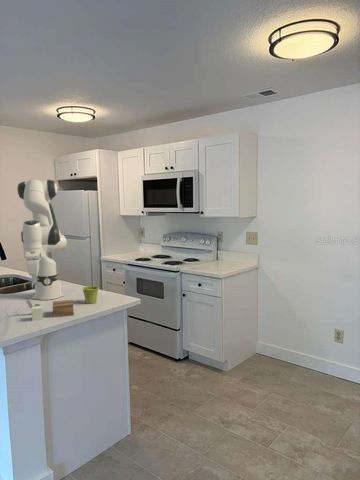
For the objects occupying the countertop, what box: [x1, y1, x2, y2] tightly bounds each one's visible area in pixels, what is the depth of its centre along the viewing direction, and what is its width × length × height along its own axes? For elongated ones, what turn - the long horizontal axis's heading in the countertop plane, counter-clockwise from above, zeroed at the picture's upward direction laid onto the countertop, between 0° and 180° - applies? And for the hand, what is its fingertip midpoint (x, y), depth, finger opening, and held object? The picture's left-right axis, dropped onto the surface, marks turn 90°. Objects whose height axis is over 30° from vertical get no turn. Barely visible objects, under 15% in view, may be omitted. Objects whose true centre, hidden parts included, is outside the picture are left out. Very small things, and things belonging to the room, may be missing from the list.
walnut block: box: [52, 299, 75, 318], centre depth 188 cm, size 10×10×6 cm
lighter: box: [25, 299, 42, 309], centre depth 188 cm, size 7×2×8 cm, turn 111°
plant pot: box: [81, 285, 100, 305], centre depth 208 cm, size 9×9×9 cm
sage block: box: [31, 305, 43, 322], centre depth 180 cm, size 4×4×6 cm
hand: (35, 281), depth 178 cm, fingers open, 8 cm apart
